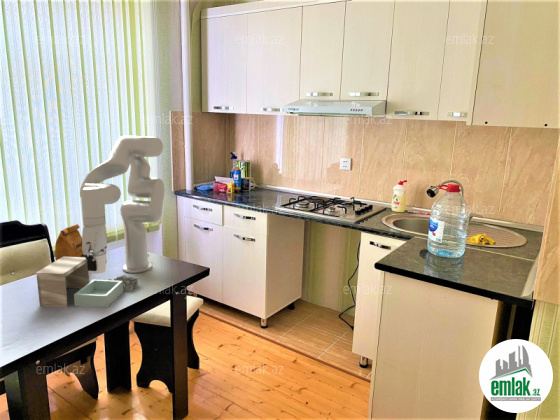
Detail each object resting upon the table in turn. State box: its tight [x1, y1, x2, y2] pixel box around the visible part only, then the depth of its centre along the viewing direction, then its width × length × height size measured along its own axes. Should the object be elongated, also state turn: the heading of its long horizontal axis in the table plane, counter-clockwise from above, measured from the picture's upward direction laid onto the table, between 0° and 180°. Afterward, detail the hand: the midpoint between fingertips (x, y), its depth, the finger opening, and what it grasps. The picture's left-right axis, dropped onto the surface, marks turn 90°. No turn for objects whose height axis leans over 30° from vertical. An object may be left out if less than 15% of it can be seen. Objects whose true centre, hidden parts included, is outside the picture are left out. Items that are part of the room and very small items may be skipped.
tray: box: [73, 279, 124, 308], centre depth 156 cm, size 14×12×4 cm
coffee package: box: [54, 223, 85, 261], centre depth 175 cm, size 10×12×22 cm
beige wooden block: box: [35, 257, 91, 308], centre depth 156 cm, size 17×10×13 cm, turn 177°
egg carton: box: [107, 275, 140, 292], centre depth 167 cm, size 11×8×4 cm
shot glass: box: [89, 251, 107, 275], centre depth 153 cm, size 7×7×7 cm
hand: (97, 266), depth 153 cm, fingers closed on shot glass, 6 cm apart
